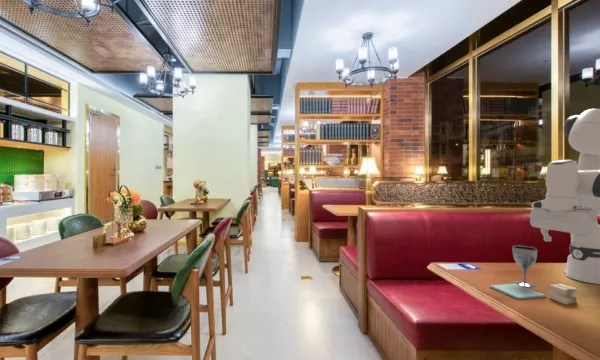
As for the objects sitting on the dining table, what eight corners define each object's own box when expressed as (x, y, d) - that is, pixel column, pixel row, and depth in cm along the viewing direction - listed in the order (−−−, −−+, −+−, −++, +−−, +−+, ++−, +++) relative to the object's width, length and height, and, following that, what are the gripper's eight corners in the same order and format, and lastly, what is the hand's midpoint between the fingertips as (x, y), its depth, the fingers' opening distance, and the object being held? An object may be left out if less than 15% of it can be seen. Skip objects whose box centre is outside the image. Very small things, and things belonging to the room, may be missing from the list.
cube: (561, 297, 105) (560, 283, 105) (576, 303, 100) (576, 288, 100) (549, 298, 104) (549, 284, 104) (564, 304, 99) (564, 289, 99)
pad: (515, 285, 117) (515, 283, 117) (545, 297, 105) (545, 294, 105) (490, 287, 115) (490, 285, 115) (518, 299, 103) (518, 297, 103)
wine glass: (529, 288, 113) (529, 250, 113) (508, 282, 120) (508, 246, 121) (541, 286, 116) (541, 248, 116) (519, 279, 124) (519, 244, 124)
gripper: (604, 207, 93) (603, 250, 93) (540, 203, 113) (540, 238, 113) (588, 207, 92) (588, 251, 92) (527, 202, 112) (526, 238, 112)
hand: (561, 243), depth 103 cm, fingers open, 8 cm apart
